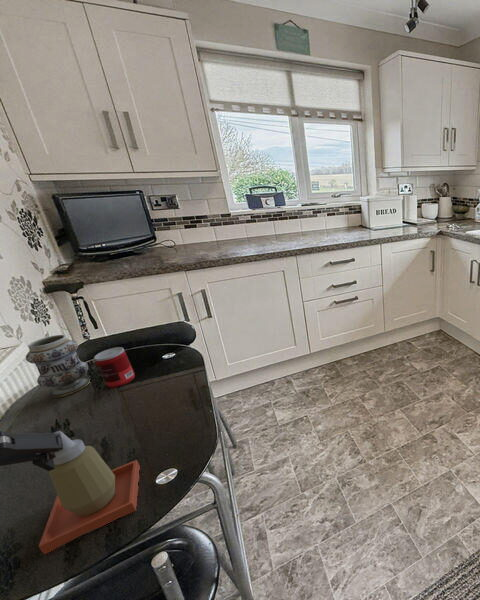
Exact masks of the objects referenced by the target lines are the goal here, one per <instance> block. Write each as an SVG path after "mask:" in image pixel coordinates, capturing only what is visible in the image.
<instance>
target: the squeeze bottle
mask: <svg viewBox="0 0 480 600" xmlns="http://www.w3.org/2000/svg"><path fill="white" fill-rule="evenodd" d="M52 434H61V439H62V444H63V449H62V450H60V451H58V452H55V456H56V457H55V458H53V461H54V466H55V469H53V470H51V471H47V472H48V475H49V478H50V480H51V483H52V486H53V487H54V490H55V493H56V496H57V495H58V497H59V500H60V502H61V505H62V506H63V507H64V508H65V509H66V510H68V511H70V512H73V513H75V514H77V515H79V516H87V515H91V514H93V513H95V512H97V511H99V510H101V509H102V508H104V507H105V506H106V505H107V504H108V503H109V502H110V501H111V500H112V499H113V497H114V496H115V475H114V474H113V472H112V471H111V470H112V469H111V468H110V467H109V466H108V465H107V463H106V462H105V461H104V459H103V458H102V456H101V455H100V454H99V453H98V452H97V450H96V449H95V447H93V446H92V445H85V443H84V441H83V440H82V439H79V438H78V439H77V438H76V439H75V438H74V439H71V438H69V437H68V436H67V435H66V434H65V433H64V432H62V431H61V430H56V431H55V432H53V433H52Z"/></svg>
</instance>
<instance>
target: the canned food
mask: <svg viewBox="0 0 480 600" xmlns="http://www.w3.org/2000/svg"><path fill="white" fill-rule="evenodd" d="M93 359H94V362H95V363H96V364H95V365H96V366H97V369H98V370H99V373H100V375H101V377H102V378H103V382H104V383H105V385H106V386H107V387H108V388H113V389H114V388H120V387H122V386H125V385H127V384H129V383H131V382H132V381H133V380H134V379H135V377H136V375H135V371H134V369H133V367H132V365H131V362H130V360H129V357H128V355H127V352H126V351H125V349H124V347H120V346H117V347H111V348H108V349H105V350H103V351H100V352H98V353H97V354H95V356H93ZM119 386H120V387H119Z"/></svg>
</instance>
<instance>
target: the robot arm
mask: <svg viewBox="0 0 480 600" xmlns="http://www.w3.org/2000/svg"><path fill="white" fill-rule="evenodd" d="M62 449H63V444H62V439H61V434H53V433H45V432H43V433H36V432H35V433H31V432H30V433H29V432H27V433H25V432H22V433H20V432H19V433H18V432H17V433H16V432H15V433H13V432H10V431H8V430H0V467H4V466H10V465H15V464H21V463H27V462H32V464H33V465H34V466H35V467H39V468H41V469H43V470H45V471H47V472H48V471H51V470H53V469H55V466H54V461H53V458H55V457H56V456H55V452H58V451H60V450H62Z"/></svg>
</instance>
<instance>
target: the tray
mask: <svg viewBox="0 0 480 600" xmlns="http://www.w3.org/2000/svg"><path fill="white" fill-rule="evenodd" d="M110 470H111V471H112V472H113V474H114V475H115V496H114V497H113V499H112V500H111V501H110V502H109V503H108V504H107V505H106V506H105V507H104V508H102V509H101V510H99V511H97V512H95V513H93V514H91V515H87V516H79V515H77V514H75V513H73V512H70V511H68V510H66V509H65V508H64V507H63V506H62V505H61V502H60V500H59V497H58V495H57V494H56V497H55V500H54V502H53V505H52V508H51V511H50V514H49V517H48V520H47V522H46V525H45V528H44V531H43V533H42V536H41V538H40V541H39V544H38V548H39V549H40V551H41V552H42V554H43V555H44V554H46V555H48V554H50V553H52V552H54V551H56V550H57V549H56V548H58V547H60V546H61V545H63V544H65V543H67V542H69V541H71V540H73V539H75V538H77V537H78V536H80V535H82V534H85V533H87V532H90V531H92V530H94V529H97V528H99V527H102V526H104V525H106V524H108V523H110V522H112V521H114V520H116V519H118V518H120V517H123V516H125V515H127V514H129V515H131V514H133V513H135V512H137V508H136V507H137V506H138V505H137V504H138V497H137V496H138V495H139V486H138V482H139V483H140V475H139V470H140V471H141V465H140V464H139V461H138V460H137V459H135V460H133V461H130V462H128V463H126V464H123V465H121V466H118V467H116V468H114V469H110ZM134 511H135V512H134ZM132 512H133V513H132ZM130 513H131V514H130ZM127 516H128V515H127ZM125 517H126V516H125ZM123 518H124V517H123ZM116 521H117V520H116ZM114 522H115V521H114ZM112 523H113V522H112ZM110 524H111V523H110ZM108 525H109V524H108ZM106 526H107V525H106ZM104 527H105V526H104ZM102 528H103V527H102ZM60 548H61V547H60ZM55 549H56V550H55ZM58 549H59V548H58ZM53 550H54V551H53ZM51 551H52V552H51ZM49 552H50V553H49ZM47 553H48V554H47Z"/></svg>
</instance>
